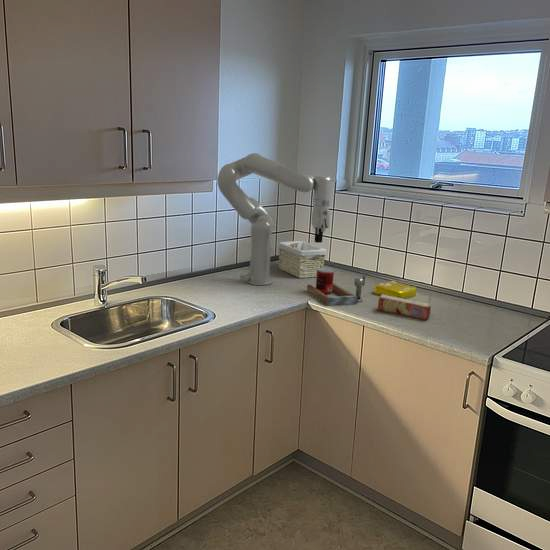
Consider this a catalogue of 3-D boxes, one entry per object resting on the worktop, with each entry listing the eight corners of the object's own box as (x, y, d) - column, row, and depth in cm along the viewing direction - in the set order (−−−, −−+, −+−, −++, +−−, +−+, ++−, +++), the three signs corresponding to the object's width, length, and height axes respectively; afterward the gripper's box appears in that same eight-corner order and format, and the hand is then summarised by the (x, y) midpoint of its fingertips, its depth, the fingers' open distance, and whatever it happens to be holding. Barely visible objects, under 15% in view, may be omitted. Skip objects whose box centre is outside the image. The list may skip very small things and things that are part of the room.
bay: (328, 305, 236) (329, 298, 235) (306, 291, 256) (307, 283, 256) (357, 303, 241) (357, 296, 240) (333, 289, 262) (334, 282, 261)
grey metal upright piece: (355, 302, 243) (358, 277, 240) (351, 299, 247) (353, 275, 244) (364, 301, 245) (367, 277, 242) (360, 299, 249) (362, 274, 246)
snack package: (430, 317, 230) (432, 301, 228) (426, 321, 224) (428, 305, 222) (380, 307, 239) (382, 292, 237) (376, 311, 233) (377, 296, 231)
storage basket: (275, 268, 296) (277, 241, 292) (302, 266, 304) (303, 240, 300) (298, 279, 276) (300, 250, 272) (325, 277, 283) (327, 249, 279)
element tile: (399, 301, 249) (400, 291, 248) (372, 293, 260) (373, 284, 258) (417, 296, 260) (418, 286, 258) (390, 288, 270) (391, 279, 269)
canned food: (332, 290, 259) (333, 268, 257) (332, 295, 252) (334, 272, 249) (315, 289, 260) (317, 266, 257) (315, 294, 252) (317, 270, 250)
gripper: (335, 205, 249) (332, 245, 254) (321, 200, 263) (318, 238, 267) (320, 205, 247) (317, 245, 251) (306, 200, 260) (304, 239, 265)
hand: (318, 242), depth 259 cm, fingers closed
